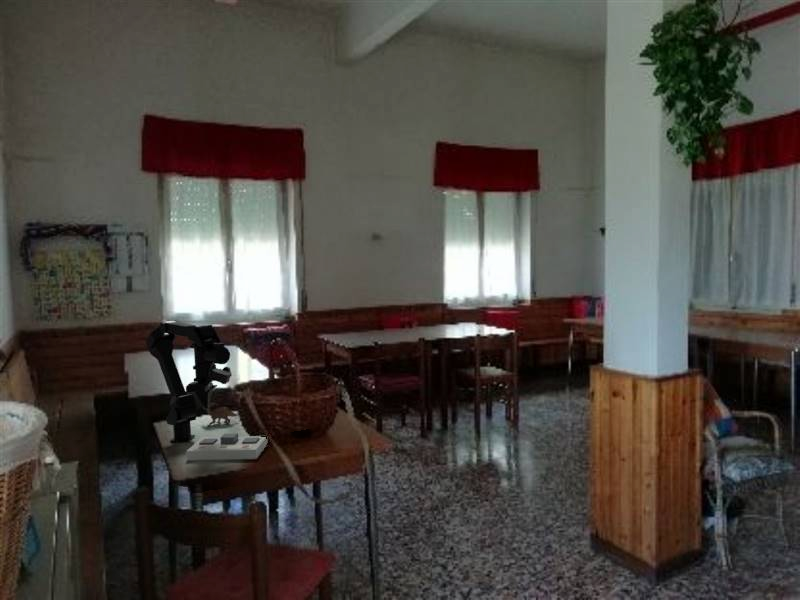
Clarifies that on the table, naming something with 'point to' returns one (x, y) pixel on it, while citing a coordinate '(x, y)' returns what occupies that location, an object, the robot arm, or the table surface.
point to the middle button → (229, 438)
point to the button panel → (226, 449)
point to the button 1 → (208, 441)
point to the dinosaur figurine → (219, 413)
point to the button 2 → (250, 440)
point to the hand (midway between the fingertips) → (206, 408)
